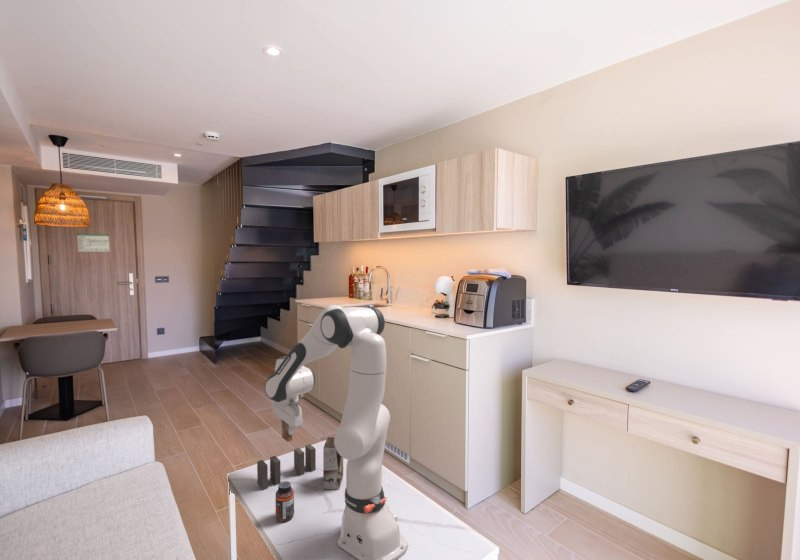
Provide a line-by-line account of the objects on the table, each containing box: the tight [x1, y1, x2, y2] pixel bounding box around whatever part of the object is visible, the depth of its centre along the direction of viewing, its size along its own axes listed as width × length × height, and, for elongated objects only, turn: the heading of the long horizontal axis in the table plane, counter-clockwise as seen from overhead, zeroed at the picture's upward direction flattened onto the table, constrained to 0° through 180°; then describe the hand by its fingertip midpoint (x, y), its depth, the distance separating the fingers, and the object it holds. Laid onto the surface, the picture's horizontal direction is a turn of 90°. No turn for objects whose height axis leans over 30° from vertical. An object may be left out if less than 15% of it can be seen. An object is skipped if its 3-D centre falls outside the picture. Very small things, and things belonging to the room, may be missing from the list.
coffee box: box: [322, 436, 344, 490], centre depth 152 cm, size 9×6×16 cm
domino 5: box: [304, 443, 317, 473], centre depth 162 cm, size 5×2×9 cm, turn 41°
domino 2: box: [269, 455, 282, 486], centre depth 152 cm, size 5×2×9 cm, turn 40°
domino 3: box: [281, 420, 293, 443], centre depth 154 cm, size 5×2×9 cm, turn 41°
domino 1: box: [256, 459, 269, 491], centre depth 149 cm, size 5×2×9 cm, turn 41°
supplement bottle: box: [274, 480, 295, 523], centre depth 131 cm, size 6×6×11 cm
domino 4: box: [293, 447, 305, 477], centre depth 159 cm, size 5×2×9 cm, turn 40°
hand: (287, 431), depth 155 cm, fingers closed on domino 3, 5 cm apart
